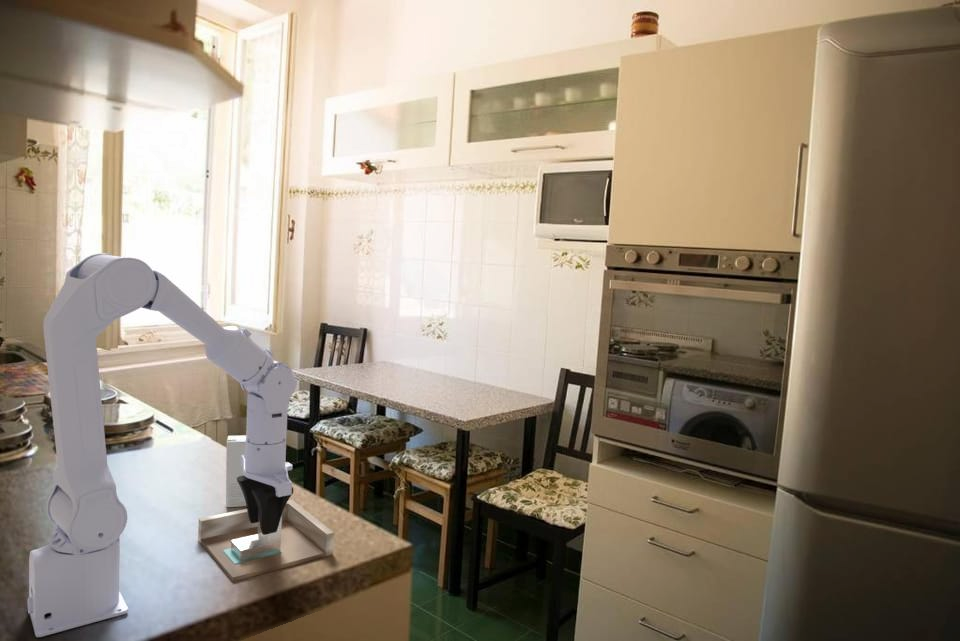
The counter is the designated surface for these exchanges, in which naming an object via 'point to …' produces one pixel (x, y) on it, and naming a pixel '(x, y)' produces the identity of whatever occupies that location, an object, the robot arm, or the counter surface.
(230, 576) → the corner arena
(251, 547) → the aluminium bracket
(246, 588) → the counter surface
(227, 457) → the skincare box
